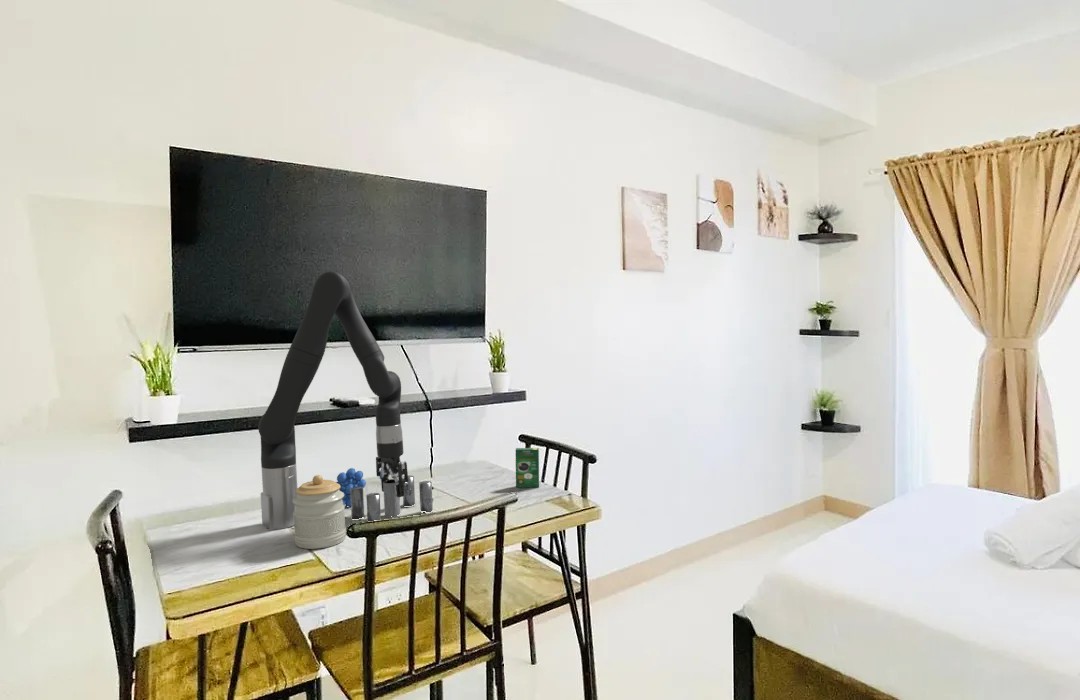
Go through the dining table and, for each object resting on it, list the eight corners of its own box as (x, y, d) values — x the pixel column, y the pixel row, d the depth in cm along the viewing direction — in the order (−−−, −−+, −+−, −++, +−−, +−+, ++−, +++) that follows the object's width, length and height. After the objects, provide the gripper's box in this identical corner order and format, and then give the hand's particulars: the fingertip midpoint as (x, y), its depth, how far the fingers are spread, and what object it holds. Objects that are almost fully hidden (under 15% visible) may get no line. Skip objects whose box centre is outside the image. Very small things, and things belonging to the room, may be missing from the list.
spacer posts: (371, 529, 178) (370, 497, 178) (349, 518, 188) (348, 488, 188) (435, 512, 192) (433, 482, 192) (411, 503, 202) (410, 474, 202)
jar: (351, 543, 168) (348, 476, 167) (299, 553, 162) (295, 484, 161) (340, 529, 179) (337, 466, 178) (291, 538, 173) (287, 474, 172)
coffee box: (540, 485, 218) (539, 447, 217) (540, 487, 215) (538, 448, 214) (516, 485, 218) (515, 447, 218) (515, 488, 215) (514, 449, 215)
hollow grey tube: (388, 519, 187) (386, 484, 186) (382, 515, 191) (380, 481, 190) (403, 515, 190) (401, 481, 189) (396, 512, 193) (395, 478, 193)
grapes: (360, 500, 207) (358, 463, 207) (370, 504, 202) (368, 466, 202) (325, 508, 200) (323, 470, 199) (334, 512, 195) (332, 473, 194)
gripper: (366, 439, 192) (369, 492, 193) (390, 445, 181) (394, 501, 183) (388, 434, 197) (392, 487, 198) (413, 440, 187) (417, 495, 188)
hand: (393, 493), depth 190 cm, fingers open, 8 cm apart
